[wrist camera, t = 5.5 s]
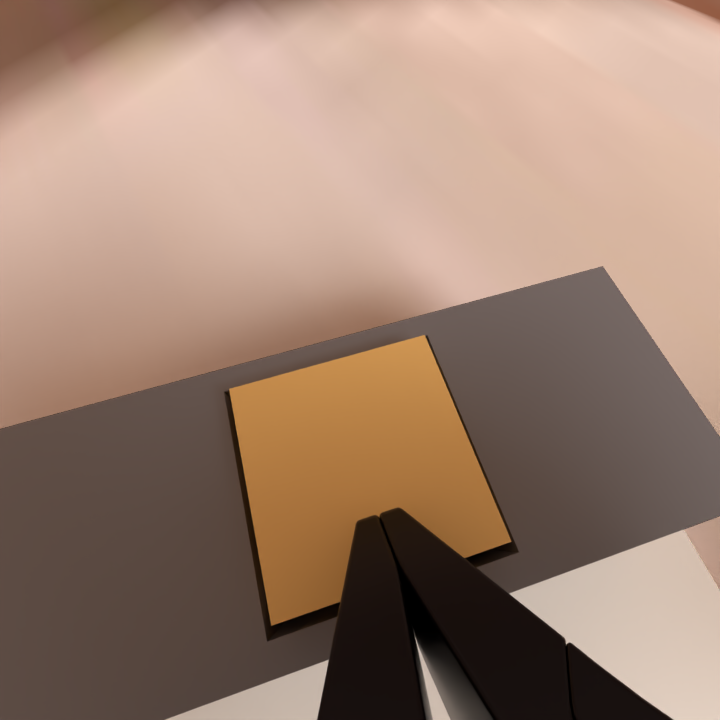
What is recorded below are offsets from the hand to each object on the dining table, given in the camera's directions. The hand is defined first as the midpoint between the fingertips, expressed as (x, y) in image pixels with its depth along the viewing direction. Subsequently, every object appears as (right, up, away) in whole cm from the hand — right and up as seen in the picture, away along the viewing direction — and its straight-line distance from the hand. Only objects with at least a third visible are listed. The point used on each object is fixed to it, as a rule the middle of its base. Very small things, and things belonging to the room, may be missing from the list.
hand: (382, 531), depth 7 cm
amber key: (0, 0, +4) cm, 4 cm away
